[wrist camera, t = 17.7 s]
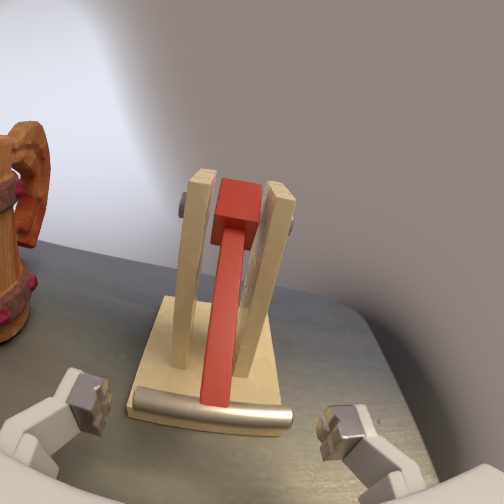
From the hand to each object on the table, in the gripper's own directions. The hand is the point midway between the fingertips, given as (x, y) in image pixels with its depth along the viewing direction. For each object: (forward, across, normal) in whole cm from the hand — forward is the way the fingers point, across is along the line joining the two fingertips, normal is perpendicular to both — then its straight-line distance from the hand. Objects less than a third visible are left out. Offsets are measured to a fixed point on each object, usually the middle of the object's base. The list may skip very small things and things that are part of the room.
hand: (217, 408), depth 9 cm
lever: (+5, 0, +1) cm, 6 cm away
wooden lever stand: (+9, 0, -6) cm, 11 cm away
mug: (+9, -18, -7) cm, 21 cm away
